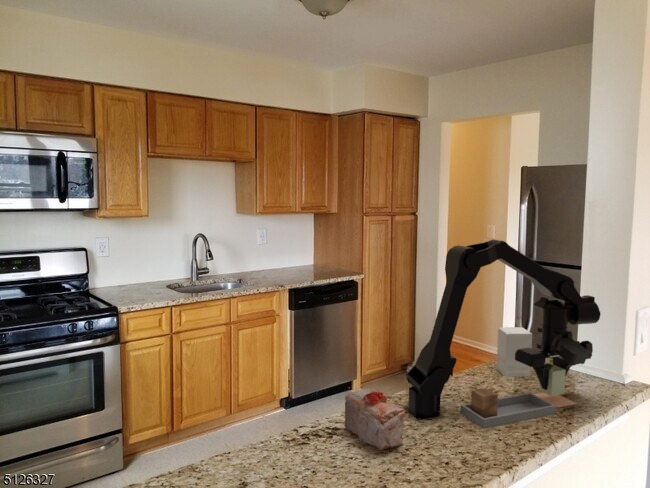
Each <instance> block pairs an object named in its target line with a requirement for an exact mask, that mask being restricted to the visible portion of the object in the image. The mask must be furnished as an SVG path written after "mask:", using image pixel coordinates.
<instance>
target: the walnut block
mask: <svg viewBox="0 0 650 488" xmlns="http://www.w3.org/2000/svg"><path fill="white" fill-rule="evenodd" d="M470 395H471V399H470V400H471V402H470V403H471V410H472V411H474V412H475V413H477V414H478V415H480V416H482V417H483V418H488V417H493V416H497V407H498V398H499V394H498V393H497V392H495V391H493V390H490V388H488V387H484V388H483V387H482V388H477V389H471V394H470Z"/></svg>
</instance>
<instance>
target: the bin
mask: <svg viewBox="0 0 650 488" xmlns="http://www.w3.org/2000/svg"><path fill="white" fill-rule="evenodd" d="M460 414H461V415H462V416H464V417H465V418H467V419H469V420H470V421H472V422H474V424H475V425H477V426H479V427H481V428H482V429H488V428H492V427H498V426H502V425H509V424H513V423H518V422H523V421H527V420H533V419H538V418H543V417H548V416H554V415H556V414H557V408H556V405H554V404H552V403H550V402H548V401H546V400H544V399H542V398H540V397H538V396H536V395H534V393H532V392H526V393H521V394H516V395H515V394H514V395H509V396H504V397H498V407H497V416H493V417H488V418H483V417H482V416H480V415H478V414H477V413H475V412H474V411H472V410H471V402H469V403H464V404H463V403H462V404H460Z"/></svg>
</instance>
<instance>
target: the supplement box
mask: <svg viewBox="0 0 650 488" xmlns="http://www.w3.org/2000/svg"><path fill="white" fill-rule="evenodd" d="M522 348H532V349H533V333H532V332H530V331H529V330H527V329H525V327H522V326H521V327H520V326H514V327H513V326H505V327H502V326H501V327H500V326H499V327H498V328H497V350H496V353H497V354H496V370H497V371H498V372H499V373H500V374H501V375H502V376H504V377H531V376H532V375H531V374H532V367H530V366H528V365H525V364H523V363H521V362H518V361H516V360H515V352H516V351H517V350H518V349H522Z"/></svg>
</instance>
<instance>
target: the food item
mask: <svg viewBox="0 0 650 488" xmlns="http://www.w3.org/2000/svg"><path fill="white" fill-rule="evenodd" d="M344 400H345V402H344V407H345V408H344V429H345V430H348V431H350V432H352V433H353V434H355V435H357V436H358V439H359V441H360V442H361V443H363V444H368V445H370V446H371V447H375V448H377V450H379V451H382V450H388V449H391V448H395V447H399V446H402V445H403V434H404V427H405V417H406V412H405V411H406V410H405V408H401V407H399V406H397V405H396V404H394V403H391V402H389V401H388V397H387V396H386V395H384V392H383V391H382V392H381V391H378V392H377V391H373V390H372V391H370V390H367V389H358V390H355V391H352V392H349V393H348V394H346V395H345V397H344Z"/></svg>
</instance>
